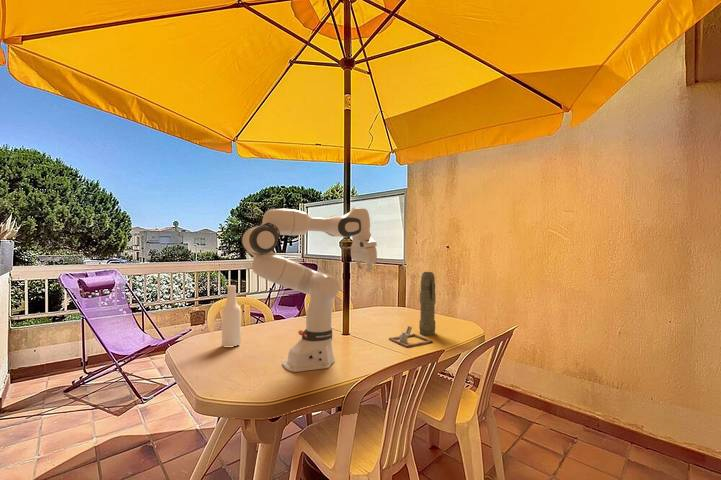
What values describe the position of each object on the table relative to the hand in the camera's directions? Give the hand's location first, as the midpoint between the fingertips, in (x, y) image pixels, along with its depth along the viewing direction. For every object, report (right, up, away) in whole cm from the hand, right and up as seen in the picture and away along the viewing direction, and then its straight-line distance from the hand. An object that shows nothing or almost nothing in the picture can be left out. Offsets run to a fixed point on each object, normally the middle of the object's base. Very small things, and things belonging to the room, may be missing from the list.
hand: (364, 270), depth 165 cm
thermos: (+37, -39, +32) cm, 62 cm away
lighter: (+22, -39, +15) cm, 47 cm away
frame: (+25, -39, +17) cm, 49 cm away
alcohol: (-66, -38, +7) cm, 77 cm away
